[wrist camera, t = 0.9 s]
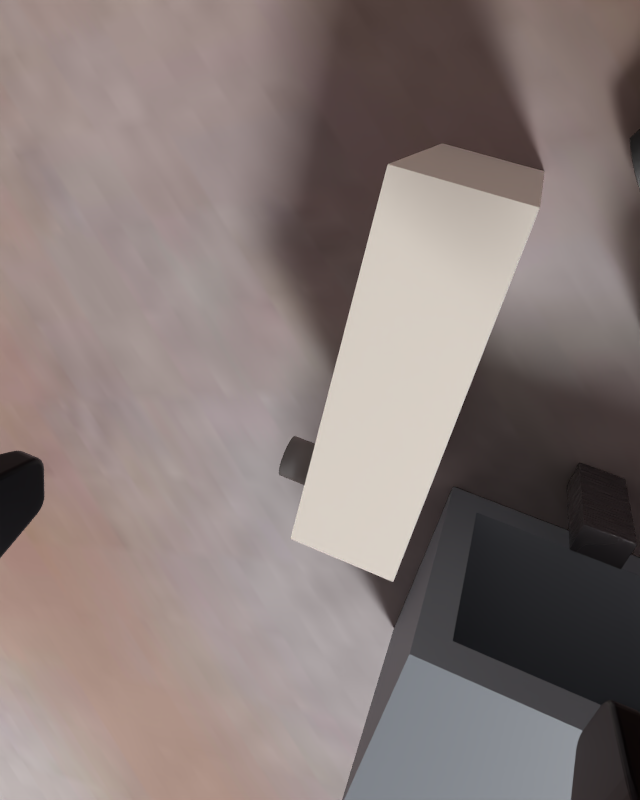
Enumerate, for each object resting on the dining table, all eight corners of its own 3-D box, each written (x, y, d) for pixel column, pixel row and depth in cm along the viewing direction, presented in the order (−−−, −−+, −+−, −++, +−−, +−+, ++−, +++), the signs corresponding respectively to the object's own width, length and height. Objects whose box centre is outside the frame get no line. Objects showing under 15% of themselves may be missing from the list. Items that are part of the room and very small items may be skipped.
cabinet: (935, 671, 19) (1141, 977, 13) (786, 801, 23) (882, 1087, 17) (453, 486, 22) (409, 654, 16) (393, 629, 26) (338, 812, 20)
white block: (410, 134, 18) (340, 150, 12) (544, 170, 17) (539, 207, 11) (334, 415, 23) (257, 525, 17) (436, 453, 22) (393, 581, 16)
